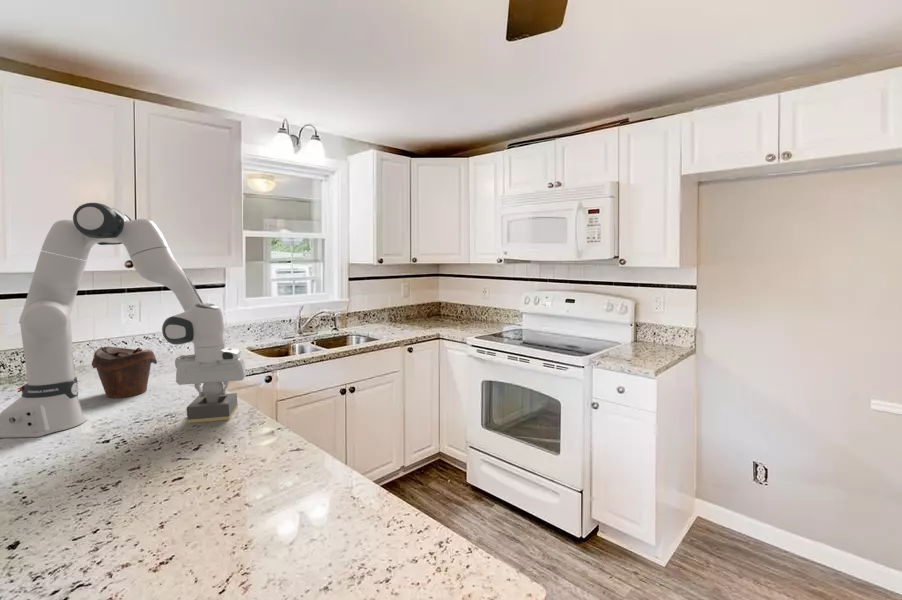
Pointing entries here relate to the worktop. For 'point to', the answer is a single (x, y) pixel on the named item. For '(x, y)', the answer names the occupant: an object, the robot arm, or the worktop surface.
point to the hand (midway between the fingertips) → (213, 395)
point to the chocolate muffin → (123, 370)
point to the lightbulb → (212, 391)
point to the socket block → (212, 409)
